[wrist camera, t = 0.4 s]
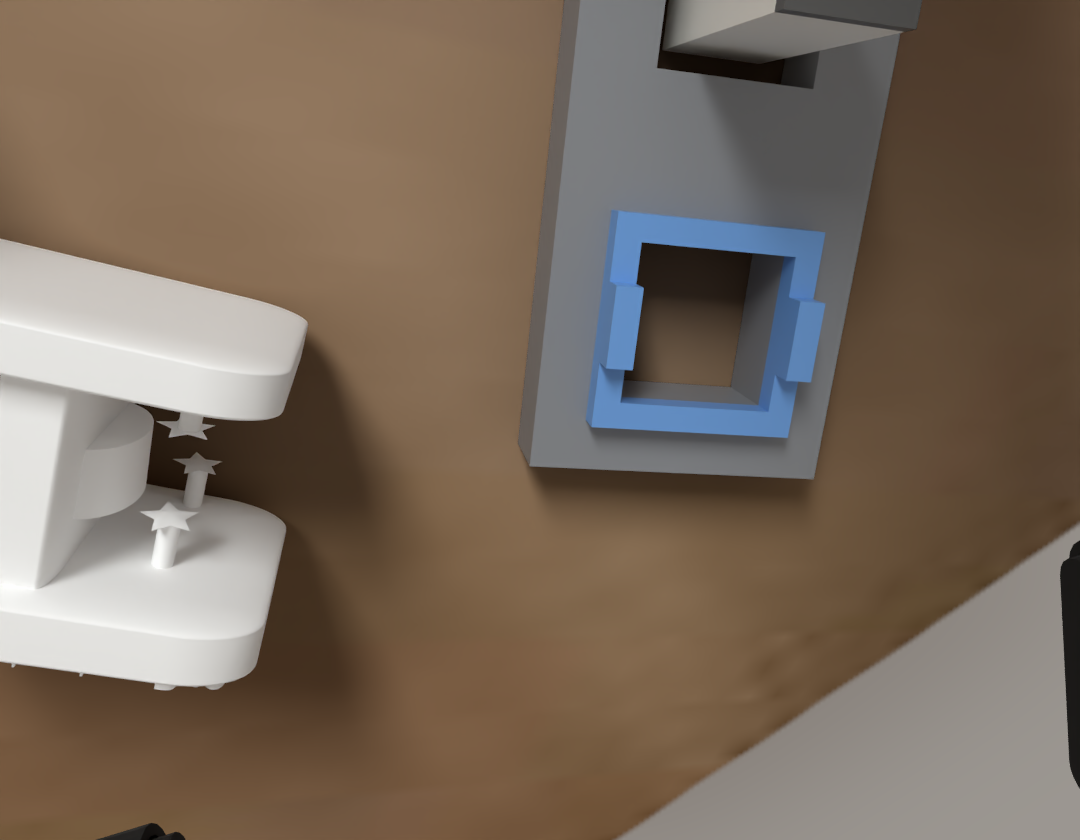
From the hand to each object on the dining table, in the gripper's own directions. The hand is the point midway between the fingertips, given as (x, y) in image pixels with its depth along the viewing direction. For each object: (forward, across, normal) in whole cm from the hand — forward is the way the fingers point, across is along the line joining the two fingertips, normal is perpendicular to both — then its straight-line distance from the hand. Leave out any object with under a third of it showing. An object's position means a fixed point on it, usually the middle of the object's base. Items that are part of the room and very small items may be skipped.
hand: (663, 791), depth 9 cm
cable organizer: (+29, +13, 0) cm, 32 cm away
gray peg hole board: (+29, -11, -3) cm, 31 cm away
